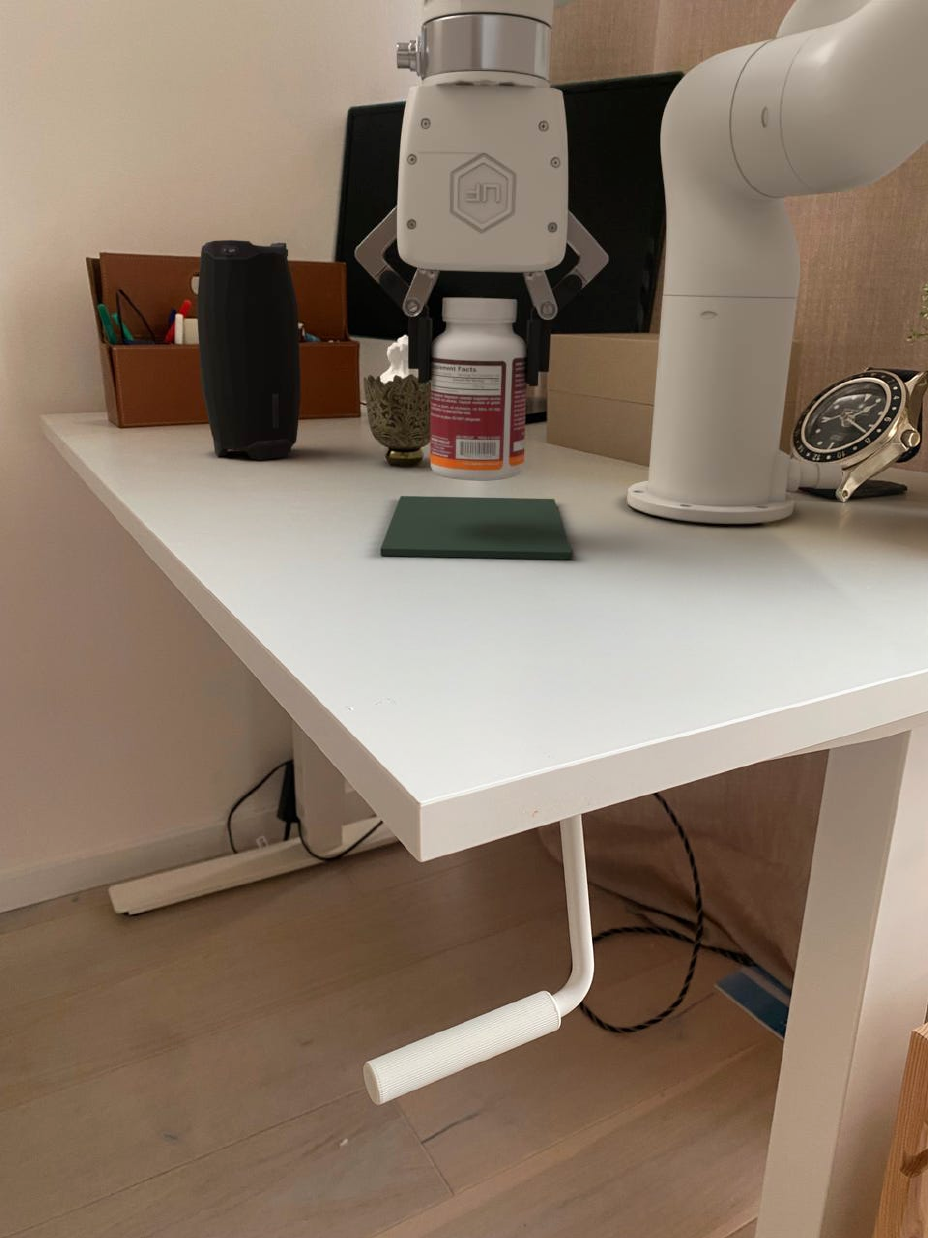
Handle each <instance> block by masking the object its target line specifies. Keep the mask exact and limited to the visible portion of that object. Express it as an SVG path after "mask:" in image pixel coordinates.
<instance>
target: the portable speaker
mask: <svg viewBox="0 0 928 1238" xmlns="http://www.w3.org/2000/svg"><path fill="white" fill-rule="evenodd" d="M288 257H289V249H288V247H287V242H275V243H271V244H269V245H259V244H253V243H252V242H251V241H250V240H238V239H237V240H235V239H225V240H223V239H222V240H211V241H207V242H205V244H204V245H202V246H201V251H200V261H199V262H200V263H199V275H198V285H197V286H198V287H197V298H196V318H197V333H198V334H197V335H198V351H199V365H200V378H201V379H200V380H201V383H200V384H201V393H202V398H203V401H204V402H203V403H204V407H205V412H206V415H207V419H208V425H209V429H210V433H211V437H212V440H213V448H214V449H213V450H214V453H215V455H216V456H217V457H226V455H227V453H228V451H237V452H239V451H240V452H246V453H247V455H248V456H249V457H250V459H253V460H257V461H258V460H259V461H262V460H263V461H264V460H271V459H281V458H286V457H289V455H290V453H291V449H292V448H293V446H294V444H296V443H297V441H298V439H297V438H298V430H299V419H300V408H301V359H300V335H299V315H298V314H299V313H298V301H297V296H296V291H295V289H294V283H293V278H292V273H291V269H290V265H289V260H288V259H289V258H288Z"/></svg>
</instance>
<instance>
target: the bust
mask: <svg viewBox="0 0 928 1238" xmlns="http://www.w3.org/2000/svg"><path fill="white" fill-rule="evenodd" d="M386 355H387V361H388V363H390V366H389V367H388V369H387V370H386V371H384V372H383V373H381V375H380V380H381V382H383V383H387V382H388V381H393V378H394V376H395V375H397V376H400V377H401V378H402V379H404V378H405V377H407V376H408V375H410V374H413V375H414V376H415V377H416V378H418V373H417V371H416V369H408V335H407V334H404V335H403V336H401V337H399V338H397V342H393V343H392V344H391V345H390V346H388V347H387V351H386ZM384 385H385V384H384Z"/></svg>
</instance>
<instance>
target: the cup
mask: <svg viewBox="0 0 928 1238" xmlns="http://www.w3.org/2000/svg"><path fill="white" fill-rule="evenodd" d="M380 376H381V375H380ZM380 376H379V375H377V377H374V376H373V375H371V374H369V375H368V376H367V378H366V377H365V376H364V377H363V387H364V395H365V404H366V411H367V419H368V424H369V427H370V428H369V429H370V431H371V433H372V436H373V437H374V439H375V441H377V442H378V443H379V444H380V445H381V446H383V447H386V449H385V451H384V458H385V461H386V462H387V463H388V464H389V465H392V466H396V467H397V466H399V467H412V466H417V465H419V464H421V463H422V461H423V459H424V456H425V455H424V451H423V449H422V448H423V447H426V446H427V445H429V444H430V407H431V391H430V382H427V384H419V383H418V378H416V377H415V376H414V375H413V374H410V375H408V376H407V377H405V378H404V379H402V378H401V377H400V376H397V375H395V376H394V378H393V381H388V382H387V383H383V382H381V380H380ZM384 384H385V385H384Z"/></svg>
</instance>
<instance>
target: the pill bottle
mask: <svg viewBox="0 0 928 1238" xmlns="http://www.w3.org/2000/svg"><path fill="white" fill-rule="evenodd" d="M441 308H442V309H441V317H442V321H443V322H445V330H444V331H443V332H442V333H440V334H439V335H437V336H436V337H435V338H434V339H433V340H432V345H431V371H430V374H431V379H430V391H431V407H430V443H429V444H430V445H429V446H430V447H429V448H430V450H429V451H430V452H429V455H430V457H429V458H430V459H429V461H430V468H431V470H432V472H433V473H434V474H435V475H437V476H440V477H442V478H447V479H452V480H453V479H454V480H460V481H461V480H462V481H471V482H472V481H473V482H475V481H476V482H488V481H501V480H507V479H511V478H514V477H517V476H518V475H520V474H521V473H522V471H523V470H524V465H525V441H526V440H525V436H526V434H525V433H526V405H527V403H526V400H527V399H526V398H527V384H526V372H527V346H526V341H525V340H524V339H523V338H522V337H521V336H520V335H519V334H517V333H515V332H514V329H513V324H514V323H516V322H517V316H518V315H517V313H518V300H517V299H516V298H513V299H512V298H489V297H488V298H487V297H486V298H485V297H443V298H442V307H441Z"/></svg>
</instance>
